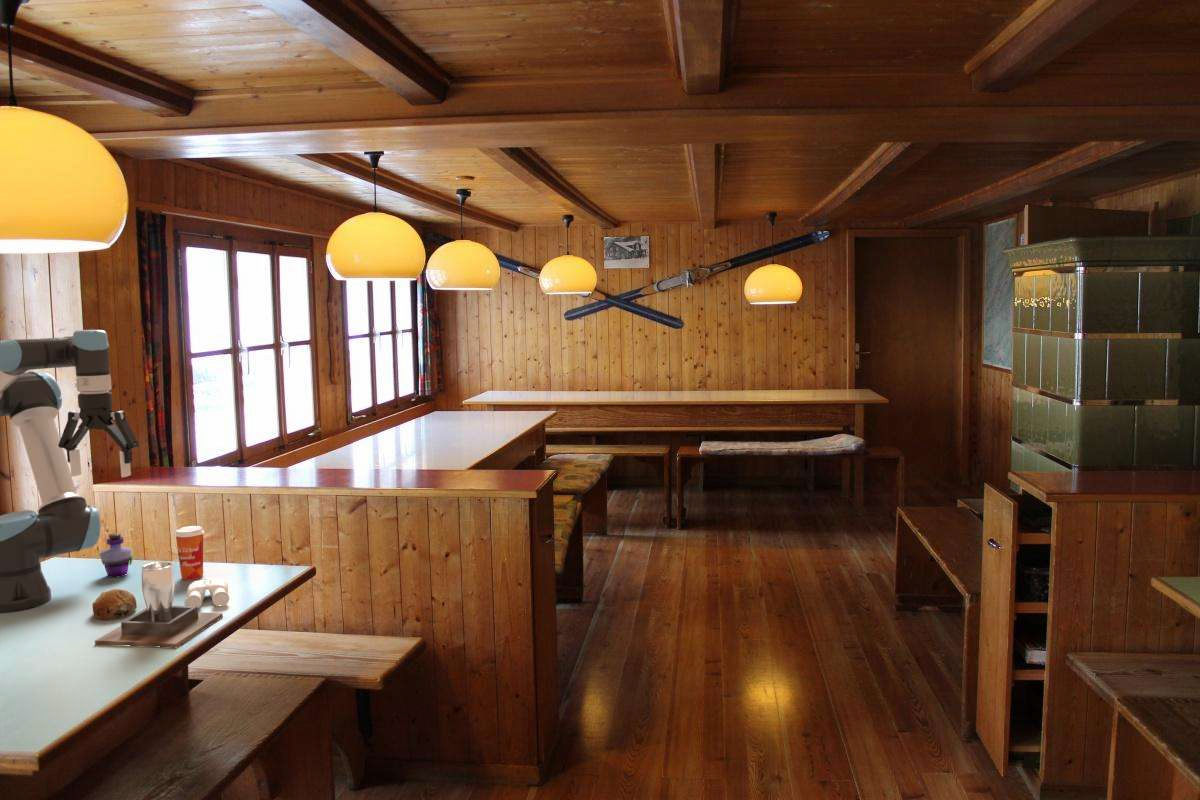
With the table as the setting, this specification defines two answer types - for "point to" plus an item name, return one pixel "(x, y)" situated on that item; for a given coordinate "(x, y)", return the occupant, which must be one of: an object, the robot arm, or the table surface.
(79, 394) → the robot arm
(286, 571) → the table surface
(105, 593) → the bread roll
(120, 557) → the potion bottle
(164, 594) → the beer glass
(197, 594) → the binoculars
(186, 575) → the paper cup
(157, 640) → the holder board
